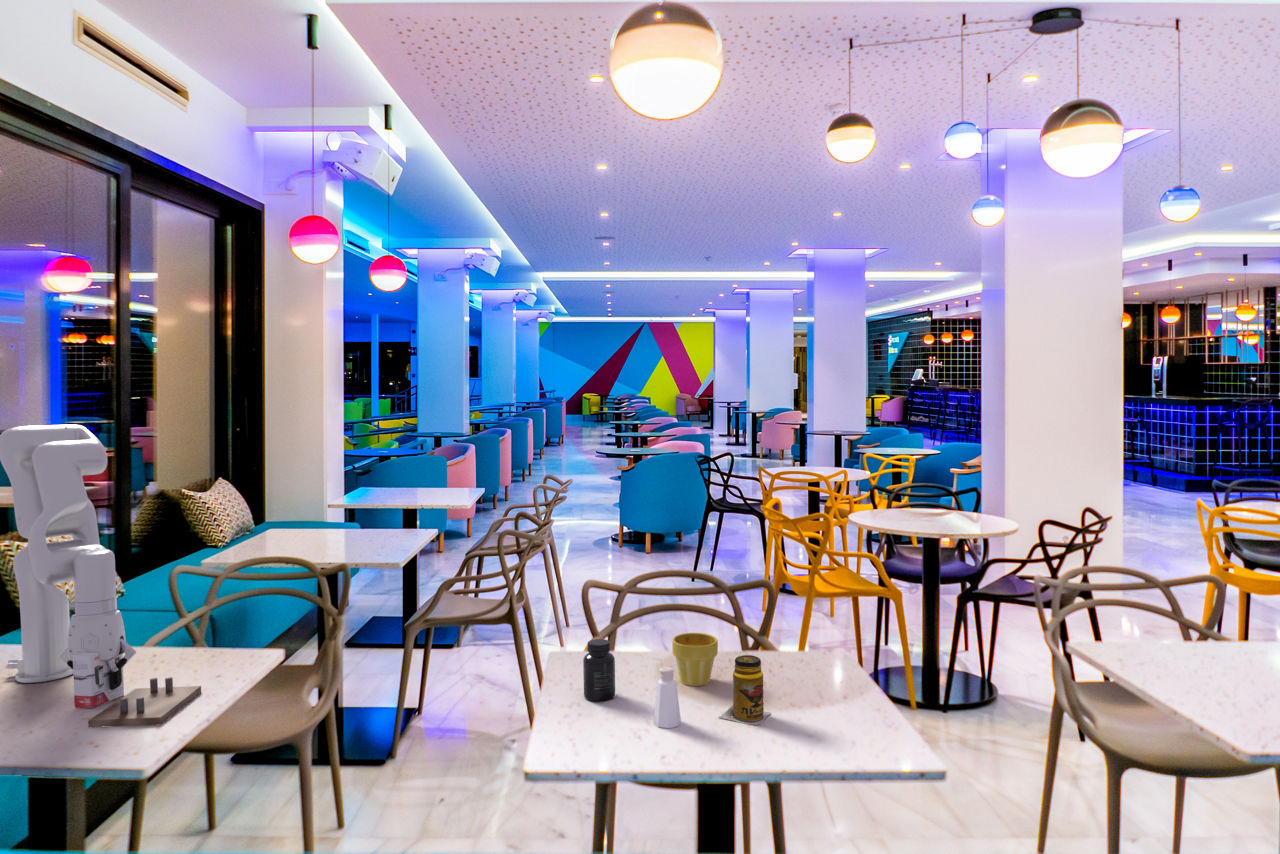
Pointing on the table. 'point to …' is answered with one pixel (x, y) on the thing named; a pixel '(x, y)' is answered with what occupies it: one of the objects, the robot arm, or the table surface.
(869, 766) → the table surface
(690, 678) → the plant pot
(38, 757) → the table surface
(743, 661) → the condiment
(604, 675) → the supplement bottle
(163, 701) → the pin dock
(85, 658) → the ink box
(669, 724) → the salt shaker
